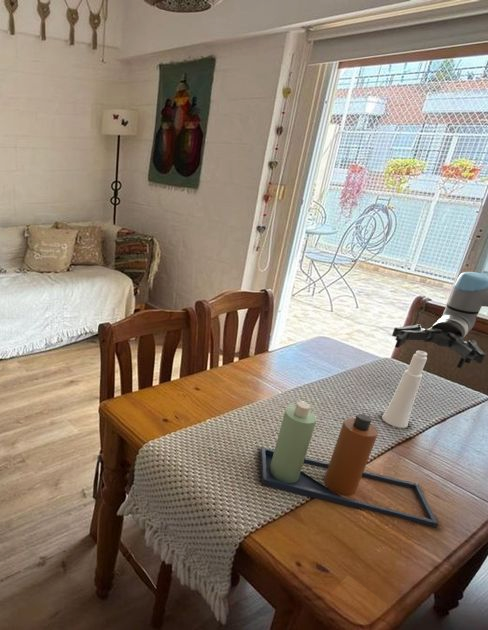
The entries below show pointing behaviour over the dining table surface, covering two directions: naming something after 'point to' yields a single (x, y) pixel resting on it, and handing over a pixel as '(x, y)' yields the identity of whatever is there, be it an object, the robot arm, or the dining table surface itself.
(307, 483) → the tray
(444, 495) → the dining table surface
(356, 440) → the amber bottle
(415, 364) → the cosmetic bottle
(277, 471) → the sage bottle
